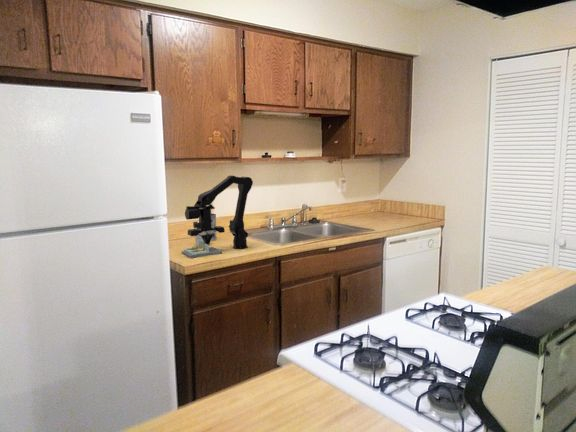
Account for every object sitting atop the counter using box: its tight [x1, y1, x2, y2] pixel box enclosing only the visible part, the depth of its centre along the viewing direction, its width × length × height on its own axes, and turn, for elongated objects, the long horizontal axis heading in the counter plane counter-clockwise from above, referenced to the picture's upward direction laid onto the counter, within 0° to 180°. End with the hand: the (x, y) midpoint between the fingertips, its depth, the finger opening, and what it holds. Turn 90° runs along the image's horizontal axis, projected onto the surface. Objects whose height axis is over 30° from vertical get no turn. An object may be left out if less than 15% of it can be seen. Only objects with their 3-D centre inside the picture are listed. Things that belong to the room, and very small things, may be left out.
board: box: [181, 245, 223, 259], centre depth 222 cm, size 18×13×4 cm
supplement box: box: [194, 221, 211, 246], centre depth 243 cm, size 7×7×13 cm
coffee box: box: [198, 212, 217, 242], centre depth 256 cm, size 9×6×16 cm
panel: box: [183, 241, 210, 255], centre depth 220 cm, size 9×12×4 cm
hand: (206, 246), depth 224 cm, fingers closed
